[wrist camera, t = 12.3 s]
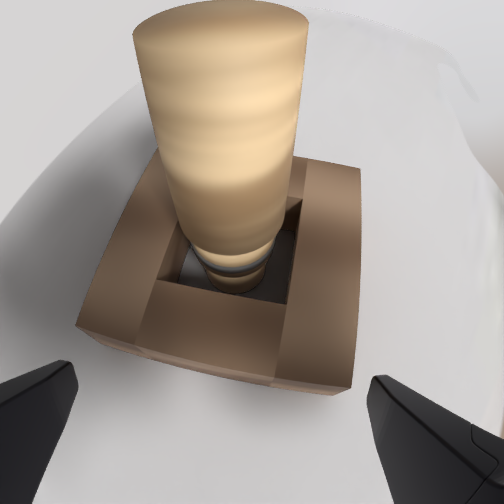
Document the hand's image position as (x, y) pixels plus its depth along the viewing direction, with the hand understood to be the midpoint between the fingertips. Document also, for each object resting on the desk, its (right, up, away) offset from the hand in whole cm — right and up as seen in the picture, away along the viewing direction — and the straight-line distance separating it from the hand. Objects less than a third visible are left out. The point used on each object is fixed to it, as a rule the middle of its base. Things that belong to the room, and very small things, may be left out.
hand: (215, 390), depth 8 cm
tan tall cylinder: (0, +3, +9) cm, 10 cm away
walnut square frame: (0, +3, +9) cm, 10 cm away
